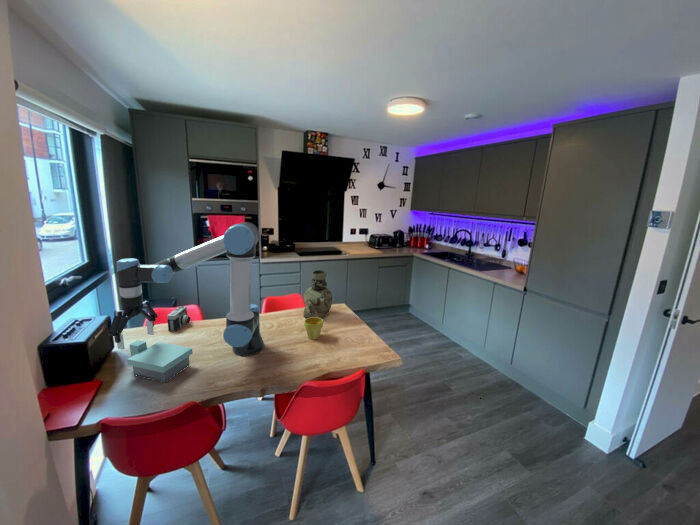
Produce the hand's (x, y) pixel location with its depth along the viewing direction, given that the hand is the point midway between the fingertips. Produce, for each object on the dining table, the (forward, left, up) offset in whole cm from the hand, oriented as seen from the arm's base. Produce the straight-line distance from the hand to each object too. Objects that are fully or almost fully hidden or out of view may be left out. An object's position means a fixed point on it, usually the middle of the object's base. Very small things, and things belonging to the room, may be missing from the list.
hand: (136, 341), depth 125 cm
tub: (-12, 0, -12) cm, 17 cm away
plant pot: (-63, -50, -12) cm, 82 cm away
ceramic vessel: (-55, -78, -12) cm, 97 cm away
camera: (+14, -38, -12) cm, 42 cm away
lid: (-10, 0, -7) cm, 12 cm away
